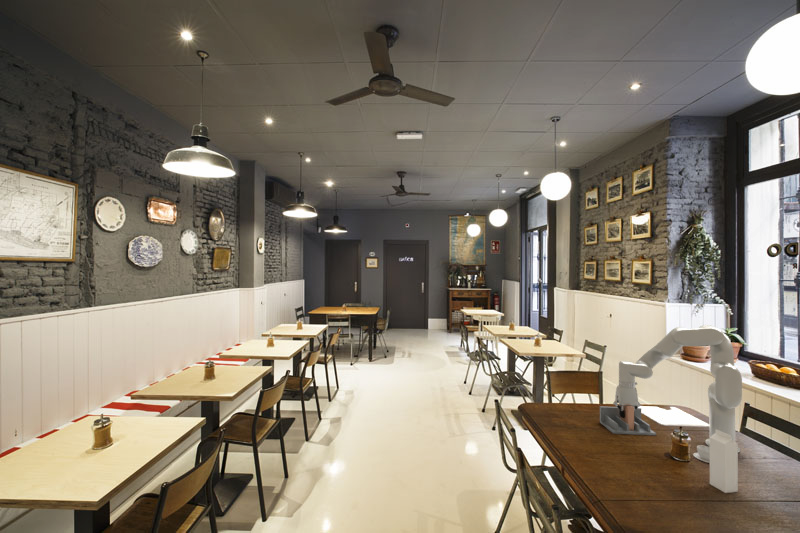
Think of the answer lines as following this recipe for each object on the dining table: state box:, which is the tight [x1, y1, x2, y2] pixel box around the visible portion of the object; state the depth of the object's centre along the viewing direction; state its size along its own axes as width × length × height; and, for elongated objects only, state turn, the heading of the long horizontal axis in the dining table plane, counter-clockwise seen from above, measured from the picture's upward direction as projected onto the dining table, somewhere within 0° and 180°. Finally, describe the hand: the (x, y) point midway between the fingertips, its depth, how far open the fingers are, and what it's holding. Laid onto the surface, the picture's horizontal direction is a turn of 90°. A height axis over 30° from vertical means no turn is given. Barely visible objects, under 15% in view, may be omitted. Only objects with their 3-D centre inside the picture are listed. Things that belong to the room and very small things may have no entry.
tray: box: [638, 405, 709, 428], centre depth 212 cm, size 28×28×2 cm
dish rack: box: [599, 405, 657, 436], centre depth 194 cm, size 14×22×9 cm, turn 86°
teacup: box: [692, 444, 710, 464], centre depth 163 cm, size 10×10×5 cm
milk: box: [709, 429, 739, 494], centre depth 141 cm, size 6×6×22 cm
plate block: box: [620, 406, 634, 430], centre depth 194 cm, size 8×3×12 cm, turn 176°
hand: (626, 417), depth 194 cm, fingers open, 4 cm apart
